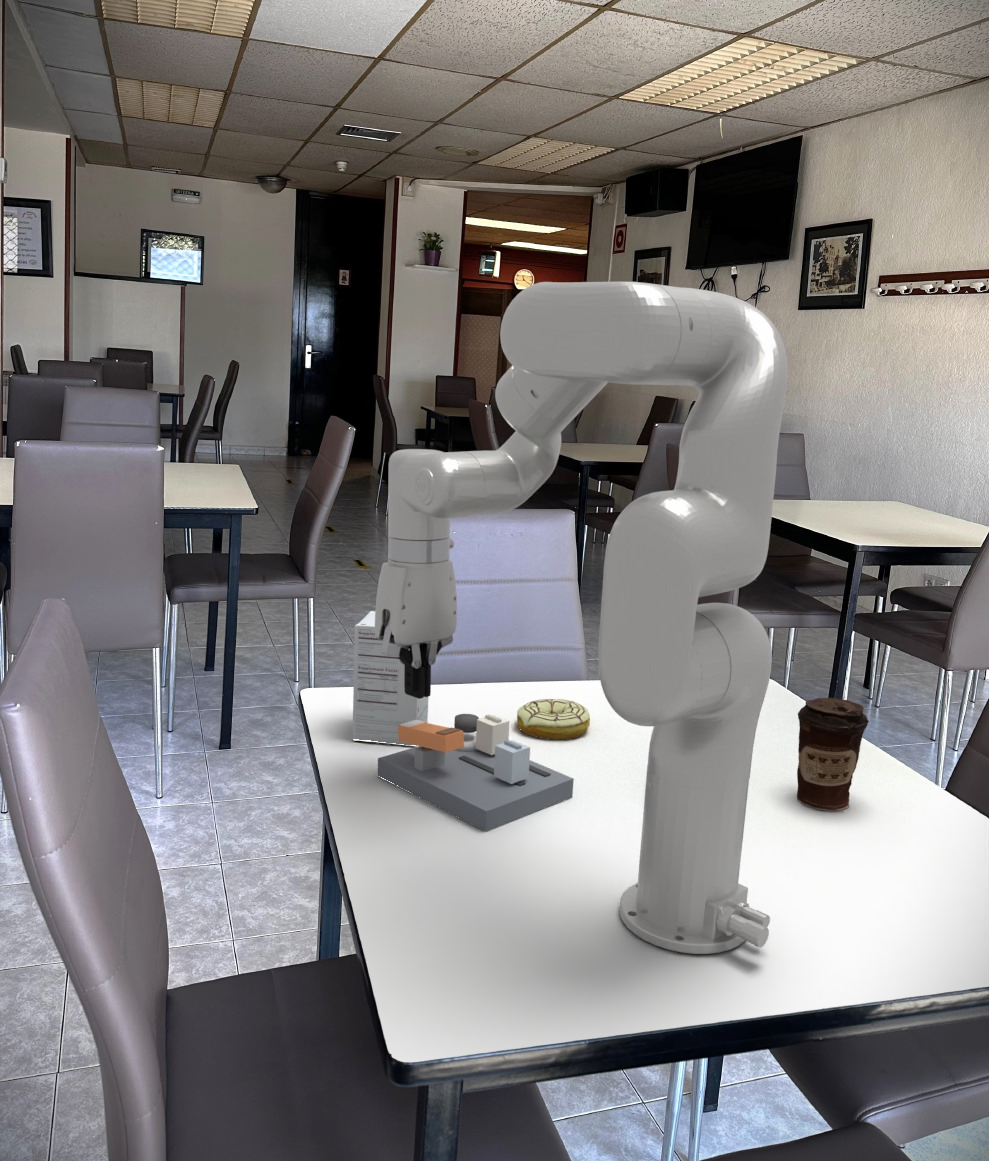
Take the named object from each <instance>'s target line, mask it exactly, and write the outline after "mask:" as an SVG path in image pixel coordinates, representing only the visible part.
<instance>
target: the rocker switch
mask: <svg viewBox="0 0 989 1161" xmlns="http://www.w3.org/2000/svg"><path fill="white" fill-rule="evenodd" d="M398 734H399V741H402V742H406V743H410V744H414V745H416V746H422V747H426V748H430V749H434V750H438V751H442V752H449V751H452V750H456V749H459V748H462V747H464V735H463V731H461V730H460V729H456V728H454V727H447V726H443V725H437V724H433V723H429V722H427V723H425V722H424V721H420V720H413V721H410V722H406V723H402V724H401V725H398Z"/></svg>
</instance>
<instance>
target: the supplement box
mask: <svg viewBox="0 0 989 1161" xmlns="http://www.w3.org/2000/svg"><path fill="white" fill-rule="evenodd" d="M353 638H354V642H353V693H352V694H353V698H352V699H353V700H352V704H353V705H352V706H353V707H352V740H353V739H359V740H371V741H378V742H386V743H396V744H404V745H414V744H410V743H406V742H402V741H399V734H398V725H401V724H402V723H406V722H410V721H413V720H420V721H424V722H425V723H429V722H428V721H429V720H428V718H429V717H428V716H429V714H428V713H429V697H424V698H421V699H418V698H415V697H413V696H410V695H407V694H406V693H405V687H404V670H405V665H404V664H401V662H400V660H399V659H398V658H397V657H393V656H387V655H384V654H382V653H381V648H382V643H383V641H381V640H378V639H377V638H376V636H375V610H371V611H369V612H368V613H367V614H366V616H365V617H363V618H362V619H361V620H360V621H359V622H358V623H356V624H355V625H354V635H353ZM397 646H398V645H397ZM409 651H410V649H409Z"/></svg>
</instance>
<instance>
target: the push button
mask: <svg viewBox="0 0 989 1161" xmlns="http://www.w3.org/2000/svg"><path fill="white" fill-rule="evenodd" d="M477 719H480V717H479V716H477V715H476V714H472V713H459V714H457V715H455V716H454V723H453V724H454V727H453V728H456V729H460V730H461V731H463V733H473V732H475V733H476V729H477Z"/></svg>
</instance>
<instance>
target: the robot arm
mask: <svg viewBox="0 0 989 1161" xmlns="http://www.w3.org/2000/svg"><path fill="white" fill-rule="evenodd" d="M499 331H500V333H499V334H500V335H499V336H500V338H499V339H500V344H501V349H502V351H503V354H504V356H505V358H506V360H507V361H508V362H509V363H510V365H511V366H510V367H509V368H508V370H506V371H505V373H504V374H503V375H502V376H501V377H500V378H499V380H498V382H497V384H496V388H495V392H494V394H495V402H496V405H497V408H498V410H499V413H500V414H501V416H502V417H503V419H504V420H505V421H506V423H507V424H508V425H509V426H510V427H511V428H512V429H513V430H514V431H515V432H513V434H512V435H511V436H510V437H509V438H508V439H507V440H506V441H505V442H504V443H503V444H502V445H501V446H500V447H499V448H498V449H496V450H470V451H469V450H468V451H465V450H464V451H448V452H445V451H441V450H437V449H428V448H427V449H426V448H423V449H422V448H406V449H404V448H403V449H399V450H396V451H394V452H393V453H392V454H391V455H390V456H389V458H388V459H389V460H388V474H387V475H388V478H387V479H388V481H387V482H388V490H387V491H388V496H387V497H388V501H387V503H388V504H387V506H388V507H387V510H388V513H387V518H388V519H387V521H388V522H387V527H388V528H387V530H388V532H387V535H388V537H387V539H388V540H387V542H388V544H387V547H388V549H387V550H388V552H387V562H383V563H382V565H381V569H380V574H379V578H378V583H377V591H376V597H375V598H376V600H375V610H374V611H375V636H376V638H377V639H378V640H381V641H383V643H382V648H381V653H382V654H384V655H387V656H393V657H397V658H398V659H399V660H400V662H401V664H404V665H405V670H404V687H405V693H406V694H407V695H410V696H413V697H415V698H418V699H421V698H424V697H428V698H429V697H431V692H432V690H431V686H432V666H433V665H435V664H436V660H437V655H439V652H440V651H441V649H443V648H445V647H447V646H449V645H451V644H452V643H453V642H454V636H453V635H454V634H455V632H456V630H457V622H458V599H457V598H458V595H457V594H458V593H457V585H456V577H455V569H454V564H453V561H452V560H450V550H451V549H453V548H454V545H455V543H454V542H455V541H454V540H453V538H450V535H451V534H450V533H451V530H450V528H451V519H456V518H465V517H466V518H467V517H474V516H475V517H476V516H487V515H498V514H504V513H508V512H510V511H512V510H513V511H514V510H515V509H516V508H518V507H520V506H521V505H523V503H525V502H526V501H527V500H529V498H531V497H532V496H533V494H535V493H536V492H537V490H539V489H540V488H541V487H542V485H544V484H545V483H546V481H547V480H548V479H549V478H550V477H551V475H552V474H553V472H554V470H555V469H556V466H557V464H558V460H559V456H560V453H561V447H562V432H563V430H564V429H565V428H566V427H568V425H569V424H570V423H571V422H572V421H573V420H574V419H575V418H576V417H577V416H578V415H579V413H580V412H581V411H582V410H584V409H585V407H586V406H588V404H590V402H591V401H592V400H593V399H594V398H595V397H596V396H597V395H598V394H599V393H600V392H601V391H602V390H603V388H604V387H605V386H606V385H607V384H608V383H612V384H620V385H622V384H623V385H649V386H651V385H655V386H690V387H693V388H695V389H697V390H698V397H697V398H696V400H695V402H694V405H693V406H692V407H691V409H690V411H689V413H688V415H687V418H686V421H685V422H684V426H683V427H682V428H683V429H682V432H681V437H680V441H679V447H678V448H679V449H678V450H679V451H678V452H679V454H678V466H677V475H676V480H675V485H674V489H672V490H661V491H660V490H659V491H654V492H650V493H647V494H644V495H642V496H640V497H637V498H636V499H634V500H632V501H631V502H630V503H629V504H627V505H626V506H625V508H624V509H622V510H621V512H620V514H619V515H618V516H617V518H616V519H615V521H614V523H613V525H612V527H611V530H610V532H609V536H608V539H607V542H606V546H605V554H604V564H603V578H602V590H601V591H602V592H601V605H600V619H599V620H600V622H599V635H598V636H599V637H598V648H597V649H598V652H597V653H598V655H597V657H598V658H597V660H598V661H597V662H598V663H597V664H598V673H599V674H598V675H599V679H600V680H599V682H600V685H601V689H602V691H603V695H604V696H605V699H606V701H607V702H608V705H609V706H610V707H611V709H612V710H613V711H614V712H615V713H616V714H617V715H618V716H619V717H621V718H622V719H623V720H625V721H626V722H628V723H631V724H633V725H636V726H641V727H653V729H652V730H651V736H650V741H649V748H648V759H647V767H646V778H645V789H644V790H645V791H644V802H643V815H642V826H641V828H642V829H641V838H640V850H639V860H638V861H639V863H638V875H637V882H635V883H634V884H632V885H630V886H629V887H627V889H626V890H624V892H623V893H622V895H621V897H620V903H619V915H620V918H621V920H622V922H623V923H624V924H625V926H626V927H627V929H628V930H630V931H631V933H632V934H634V935H636V936H637V937H639V938H640V939H642V940H644V941H645V942H647V943H649V944H652V945H654V946H657V947H660V948H662V949H666V950H667V951H669V950H670V951H673V952H676V953H677V952H678V953H681V954H691V955H692V954H693V955H710V954H718V953H724V952H726V951H729V950H732V949H734V948H737V947H739V946H740V945H742V944H743V943H744V942H748V943H749V944H751V945H754V946H755V947H757V948H758V949H761V948H762V947H764V946H765V945H766V943H767V941H768V939H769V934H770V930H769V928H768V927H769V926H770V923H771V922H770V921H771V917H770V915H769V914H767V913H764V912H763V911H759V910H757V909H754V908H752V907H750V903H748V895H749V894H748V893H749V888H748V887H747V886H746V885H743V884H741V883H739V879H740V871H741V870H740V869H741V862H742V861H741V860H742V851H743V849H742V848H743V841H744V833H745V832H744V831H745V821H746V813H747V811H746V810H747V804H748V793H749V786H750V785H749V784H750V778H751V770H752V769H751V768H752V760H753V759H752V758H753V753H754V744H755V738H756V732H757V727H758V722H759V718H760V715H761V711H762V708H763V705H764V704H763V703H764V700H765V697H766V694H767V690H768V688H769V684H770V678H771V673H772V665H773V664H772V663H773V654H772V647H771V641H770V639H769V636H768V633H767V631H766V629H765V627H764V626H763V624H762V623H761V622H760V620H759V619H758V618H757V617H755V615H754V614H752V613H751V612H749V611H748V610H746V609H744V608H742V607H740V606H738V605H735V604H732V603H726V602H725V603H723V602H708V603H701V604H698V601H699V598H703V597H708V596H713V595H718V594H723V593H726V592H731V591H734V590H737V589H740V588H742V587H745V586H747V585H749V584H751V583H752V582H754V581H755V580H756V579H757V578H758V576H759V575H760V574H761V573H762V571H763V569H764V567H765V564H766V561H767V557H768V551H769V545H770V535H771V528H772V526H771V524H772V516H773V507H774V506H773V505H774V496H775V487H776V486H775V484H776V475H777V465H778V464H777V462H778V448H779V439H780V431H781V426H782V420H783V413H784V409H785V401H786V396H787V391H788V390H787V388H788V378H789V368H788V366H789V365H788V355H787V351H786V346H785V344H784V340H783V339H782V336H781V334H780V332H779V330H778V329H777V327H776V326H775V325H774V323H773V322H772V321H771V319H770V318H769V317H768V316H767V315H766V314H765V313H764V312H762V311H761V310H759V309H758V308H757V307H756V306H754V305H752V304H750V303H749V302H746V301H745V300H742V299H740V298H737V297H735V296H731V295H729V294H724V293H720V292H717V291H713V290H706V289H699V288H693V287H692V288H691V287H681V286H680V287H679V286H672V285H664V284H657V283H650V282H649V283H648V282H638V281H581V282H578V281H577V282H576V281H575V282H567V281H566V282H557V281H556V282H552V281H542V282H541V281H540V282H537V283H534V284H530V285H529V286H527V287H526V288H524V289H523V290H521V291H520V292H519V293H518V294H516V296H515V297H514V298H513V299H512V300H511V302H510V303H509V305H508V306H507V307H506V310H505V312H504V314H503V318H502V320H501V325H500V330H499ZM397 645H398V646H397ZM409 649H410V651H409Z"/></svg>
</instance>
